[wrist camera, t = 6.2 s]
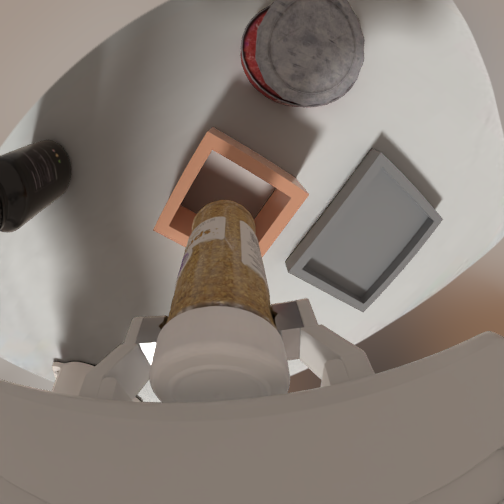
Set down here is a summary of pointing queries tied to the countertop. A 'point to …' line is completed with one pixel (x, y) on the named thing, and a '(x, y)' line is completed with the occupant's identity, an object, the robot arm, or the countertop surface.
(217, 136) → the terracotta holder
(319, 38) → the canned food
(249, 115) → the countertop surface
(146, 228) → the countertop surface
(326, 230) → the charcoal tray
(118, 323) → the countertop surface
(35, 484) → the robot arm
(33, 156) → the supplement bottle
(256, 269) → the sprinkles bottle
